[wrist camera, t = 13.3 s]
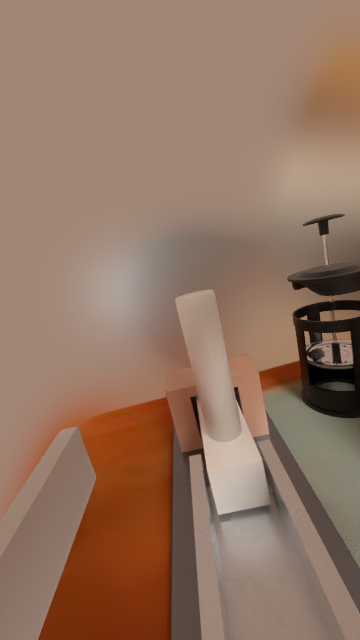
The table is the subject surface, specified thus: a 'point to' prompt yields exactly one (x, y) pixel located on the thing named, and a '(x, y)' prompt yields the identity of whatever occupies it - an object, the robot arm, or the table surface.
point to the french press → (331, 355)
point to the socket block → (186, 409)
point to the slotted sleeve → (259, 558)
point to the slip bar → (220, 410)
